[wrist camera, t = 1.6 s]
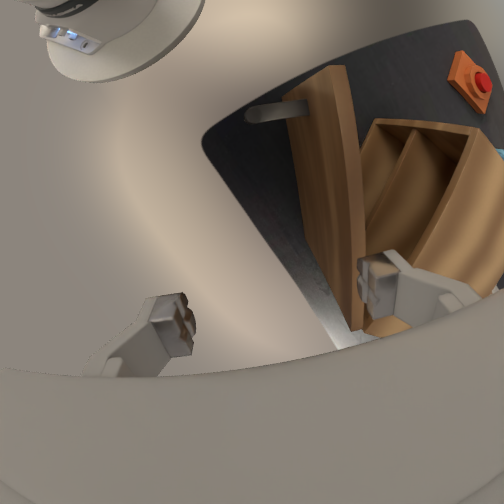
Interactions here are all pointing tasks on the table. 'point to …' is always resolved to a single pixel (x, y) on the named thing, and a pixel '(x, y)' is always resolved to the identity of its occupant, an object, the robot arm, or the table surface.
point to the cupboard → (433, 203)
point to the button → (483, 82)
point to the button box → (468, 81)
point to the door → (327, 178)
